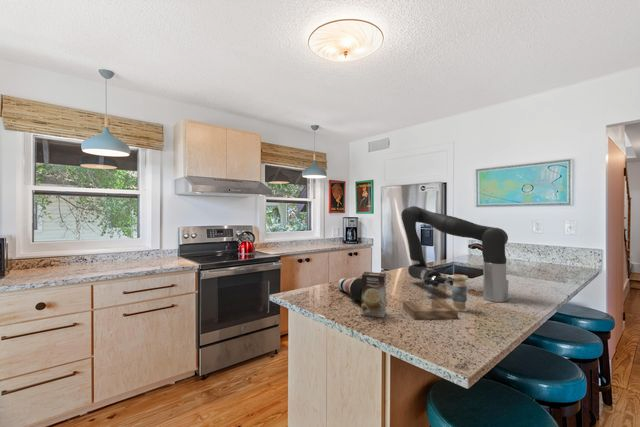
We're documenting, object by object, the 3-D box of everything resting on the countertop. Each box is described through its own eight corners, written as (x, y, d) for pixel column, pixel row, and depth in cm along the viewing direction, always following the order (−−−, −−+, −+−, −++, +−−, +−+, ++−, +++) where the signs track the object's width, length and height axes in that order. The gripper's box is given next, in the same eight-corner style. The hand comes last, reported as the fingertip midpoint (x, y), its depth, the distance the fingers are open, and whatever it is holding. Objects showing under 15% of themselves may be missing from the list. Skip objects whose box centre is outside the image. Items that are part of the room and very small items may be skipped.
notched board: (441, 307, 128) (442, 300, 128) (457, 318, 115) (457, 310, 115) (402, 308, 126) (402, 301, 126) (414, 319, 114) (414, 311, 113)
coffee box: (360, 315, 118) (360, 274, 118) (363, 310, 124) (363, 271, 124) (384, 317, 115) (384, 276, 115) (386, 312, 121) (386, 272, 121)
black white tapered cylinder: (343, 295, 162) (350, 278, 164) (375, 308, 130) (384, 286, 132) (327, 288, 159) (334, 270, 161) (356, 299, 127) (365, 276, 130)
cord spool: (462, 307, 128) (462, 274, 128) (470, 311, 122) (470, 277, 122) (448, 307, 128) (448, 274, 128) (455, 312, 122) (456, 277, 122)
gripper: (417, 269, 152) (431, 276, 136) (444, 269, 153) (461, 276, 136) (417, 284, 152) (430, 293, 136) (444, 284, 153) (461, 292, 137)
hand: (446, 284), depth 136 cm, fingers open, 8 cm apart
